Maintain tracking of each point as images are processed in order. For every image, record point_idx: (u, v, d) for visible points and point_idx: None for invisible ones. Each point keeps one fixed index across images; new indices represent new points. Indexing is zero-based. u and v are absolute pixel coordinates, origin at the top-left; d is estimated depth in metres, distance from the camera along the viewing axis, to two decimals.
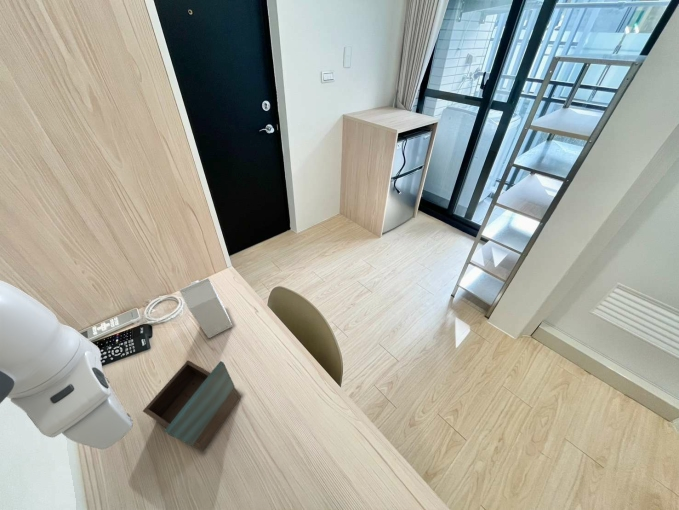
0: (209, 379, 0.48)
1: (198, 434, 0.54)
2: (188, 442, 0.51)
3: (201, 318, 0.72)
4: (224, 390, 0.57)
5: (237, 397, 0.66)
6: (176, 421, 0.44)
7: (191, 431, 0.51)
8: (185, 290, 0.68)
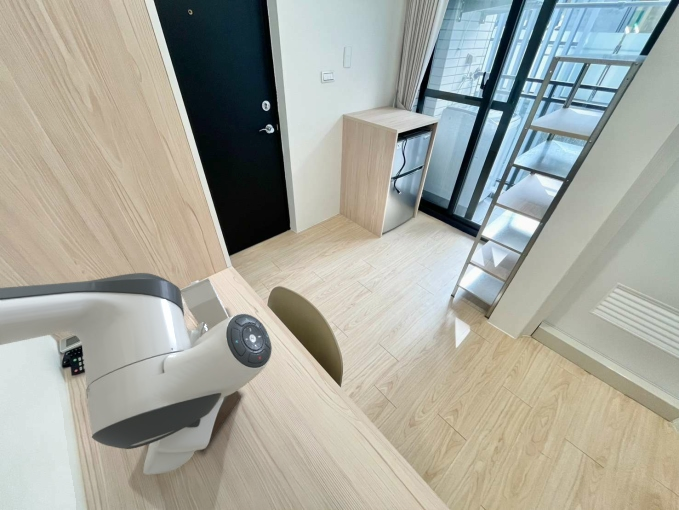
0: None
1: None
2: None
3: (201, 318, 0.72)
4: None
5: (237, 397, 0.66)
6: None
7: None
8: (185, 290, 0.68)
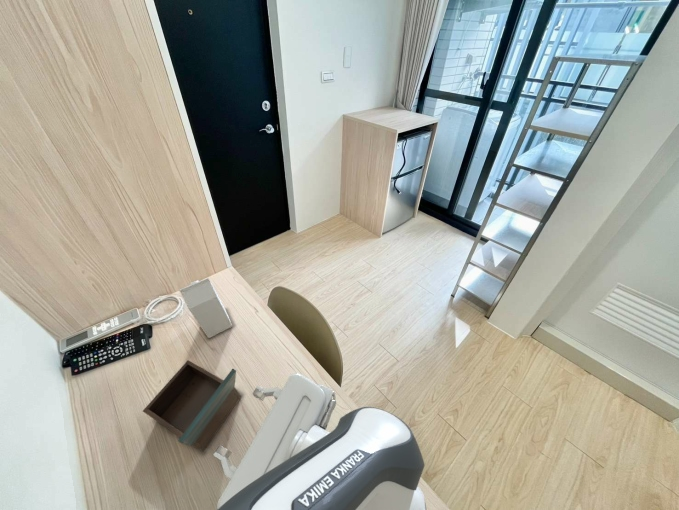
0: (222, 387, 0.48)
1: (199, 435, 0.54)
2: (191, 444, 0.51)
3: (201, 318, 0.72)
4: (227, 392, 0.57)
5: (237, 397, 0.66)
6: (190, 430, 0.43)
7: (196, 434, 0.50)
8: (185, 290, 0.68)
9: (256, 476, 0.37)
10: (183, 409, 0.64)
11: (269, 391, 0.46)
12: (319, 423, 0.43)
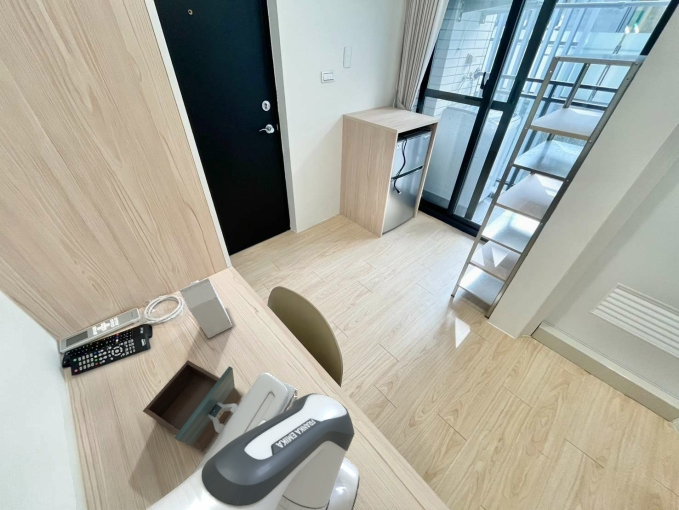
0: (218, 385, 0.48)
1: (198, 435, 0.54)
2: (190, 443, 0.51)
3: (201, 318, 0.72)
4: (227, 391, 0.57)
5: (237, 397, 0.66)
6: (186, 428, 0.43)
7: (194, 433, 0.50)
8: (185, 290, 0.68)
9: None
10: (183, 409, 0.64)
11: (227, 407, 0.52)
12: None
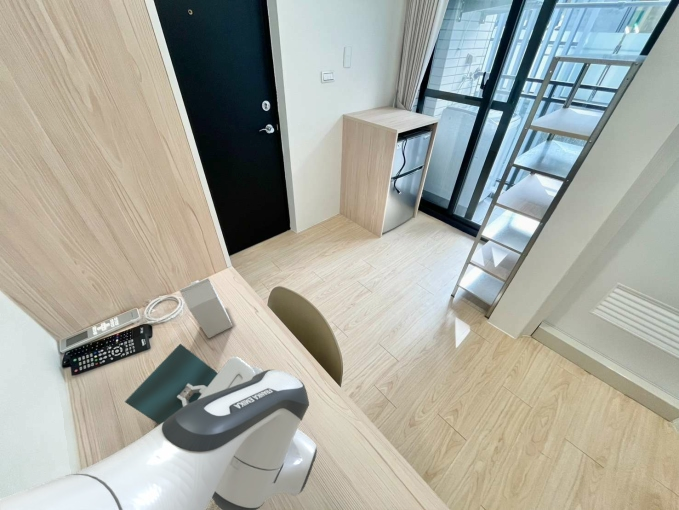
0: (166, 358, 0.55)
1: None
2: None
3: (201, 318, 0.72)
4: None
5: None
6: (133, 392, 0.50)
7: None
8: (185, 290, 0.68)
9: None
10: None
11: (196, 388, 0.54)
12: None
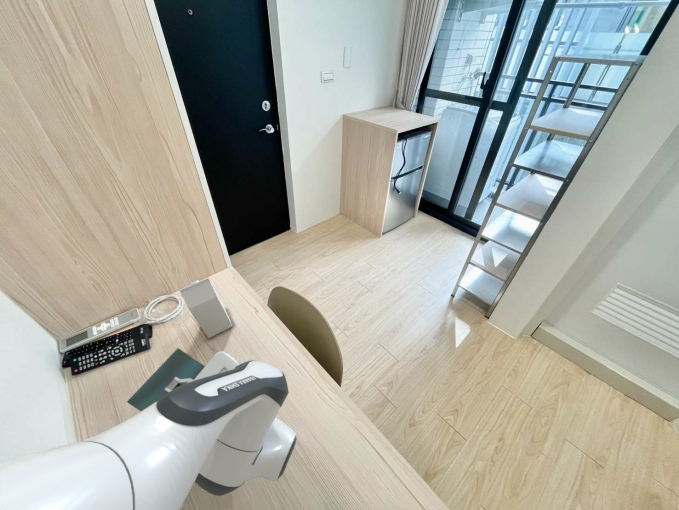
0: (165, 361, 0.60)
1: None
2: None
3: (201, 318, 0.72)
4: None
5: None
6: (135, 393, 0.55)
7: None
8: (185, 290, 0.68)
9: None
10: None
11: (183, 381, 0.57)
12: None
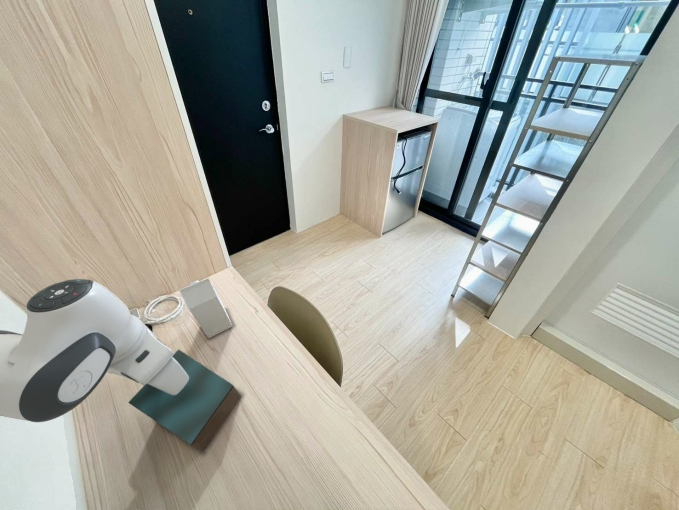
0: None
1: (193, 431, 0.55)
2: (177, 434, 0.54)
3: (201, 318, 0.72)
4: (209, 383, 0.61)
5: (237, 397, 0.66)
6: (136, 394, 0.56)
7: (172, 418, 0.55)
8: (185, 290, 0.68)
9: None
10: None
11: None
12: None
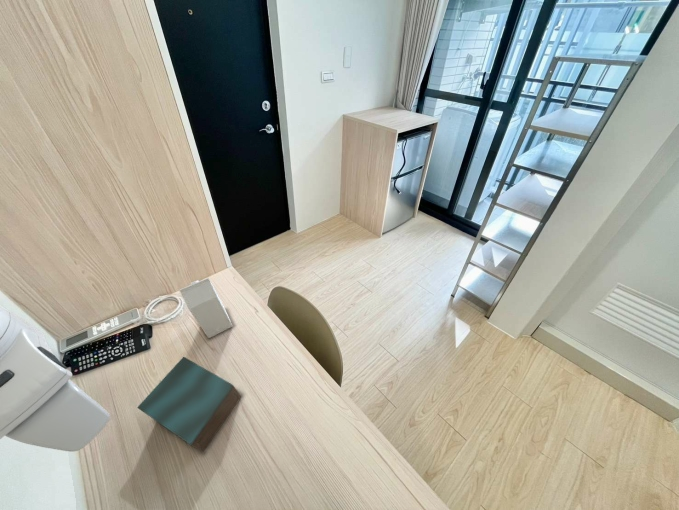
0: (172, 369, 0.64)
1: (193, 431, 0.55)
2: (178, 434, 0.55)
3: (201, 318, 0.72)
4: (210, 385, 0.62)
5: (237, 397, 0.66)
6: (144, 399, 0.59)
7: (174, 420, 0.57)
8: (185, 290, 0.68)
9: None
10: None
11: None
12: None
